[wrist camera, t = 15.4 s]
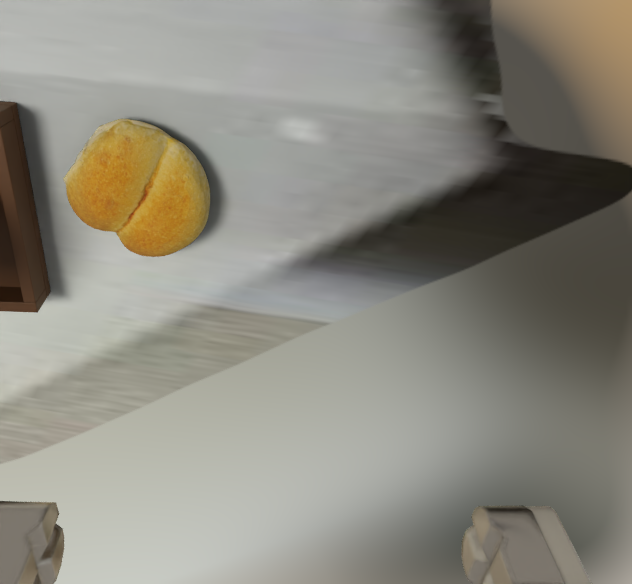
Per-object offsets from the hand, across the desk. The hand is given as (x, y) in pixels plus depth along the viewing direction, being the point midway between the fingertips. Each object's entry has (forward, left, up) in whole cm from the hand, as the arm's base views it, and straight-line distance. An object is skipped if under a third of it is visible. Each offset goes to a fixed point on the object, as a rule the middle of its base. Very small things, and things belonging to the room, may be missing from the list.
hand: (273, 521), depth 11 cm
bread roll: (+5, -8, -29) cm, 31 cm away
